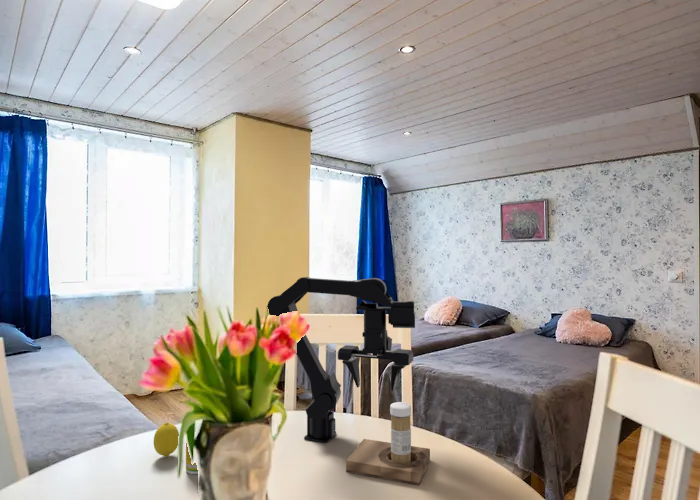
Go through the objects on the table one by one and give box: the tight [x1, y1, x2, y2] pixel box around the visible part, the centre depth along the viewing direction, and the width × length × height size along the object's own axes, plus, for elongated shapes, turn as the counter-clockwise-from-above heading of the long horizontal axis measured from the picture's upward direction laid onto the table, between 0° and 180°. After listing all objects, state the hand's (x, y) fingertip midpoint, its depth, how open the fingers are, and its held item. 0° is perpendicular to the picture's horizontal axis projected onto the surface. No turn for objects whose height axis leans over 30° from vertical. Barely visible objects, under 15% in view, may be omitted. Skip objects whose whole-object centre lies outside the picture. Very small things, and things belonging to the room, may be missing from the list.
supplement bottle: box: [185, 442, 199, 475], centre depth 96 cm, size 5×5×10 cm
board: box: [345, 438, 431, 486], centre depth 97 cm, size 16×12×2 cm
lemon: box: [153, 421, 180, 458], centre depth 102 cm, size 6×6×8 cm
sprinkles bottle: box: [389, 401, 412, 464], centre depth 96 cm, size 5×5×14 cm
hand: (375, 388), depth 111 cm, fingers open, 9 cm apart
